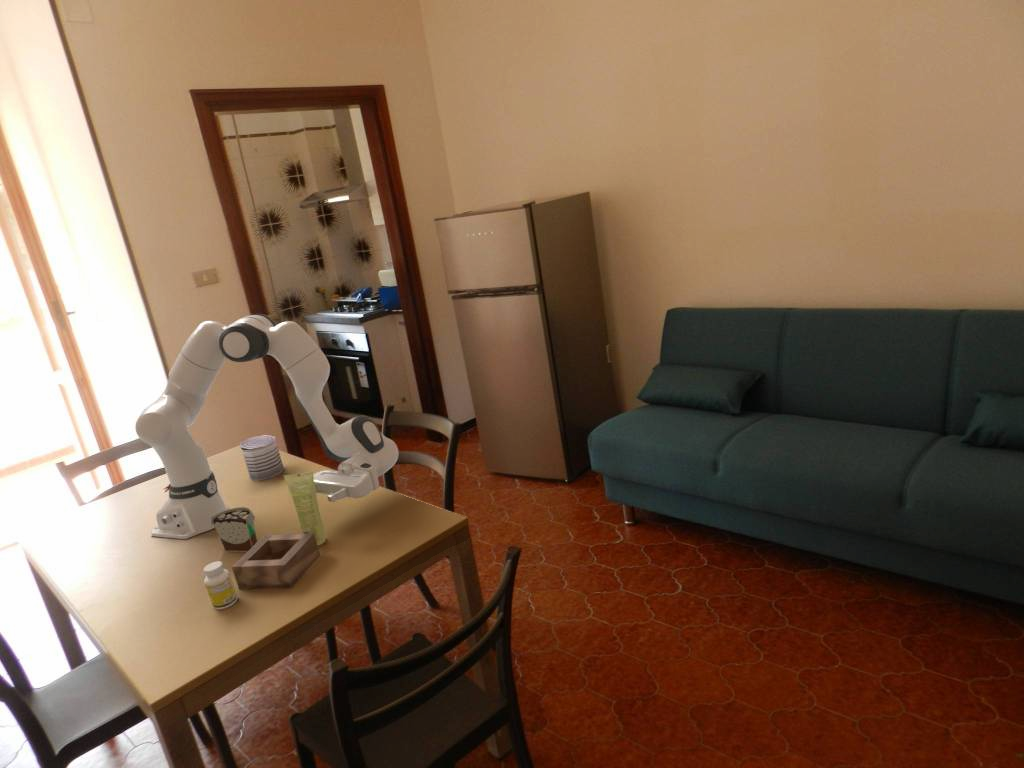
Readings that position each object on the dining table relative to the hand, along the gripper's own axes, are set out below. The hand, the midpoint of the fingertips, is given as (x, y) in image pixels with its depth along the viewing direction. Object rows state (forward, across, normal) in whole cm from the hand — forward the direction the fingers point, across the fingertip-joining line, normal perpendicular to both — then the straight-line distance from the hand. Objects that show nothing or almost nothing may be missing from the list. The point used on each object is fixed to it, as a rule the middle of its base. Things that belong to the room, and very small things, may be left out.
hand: (317, 497), depth 181 cm
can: (-28, -56, +11) cm, 63 cm away
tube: (+4, 0, +11) cm, 12 cm away
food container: (+10, -20, +11) cm, 25 cm away
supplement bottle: (+31, -2, +11) cm, 33 cm away
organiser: (+17, +1, +11) cm, 20 cm away
